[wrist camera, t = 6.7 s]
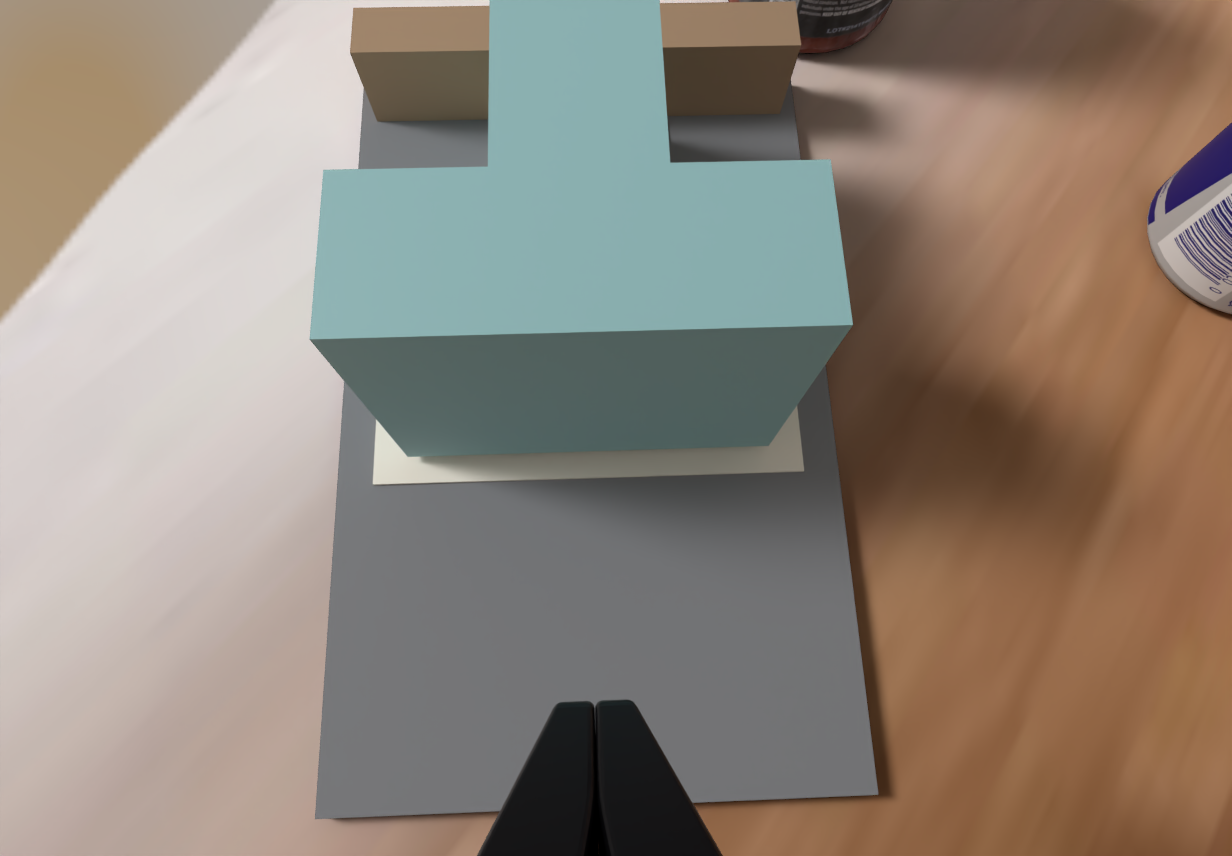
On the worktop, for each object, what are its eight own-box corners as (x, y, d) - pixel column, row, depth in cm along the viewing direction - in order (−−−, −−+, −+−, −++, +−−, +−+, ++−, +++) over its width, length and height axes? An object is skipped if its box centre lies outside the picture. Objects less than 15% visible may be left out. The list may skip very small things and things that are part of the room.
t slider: (768, 445, 23) (853, 324, 15) (407, 456, 23) (309, 339, 15) (737, 125, 26) (794, -107, 18) (421, 131, 26) (345, -102, 18)
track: (871, 792, 21) (923, 811, 18) (321, 816, 21) (267, 840, 17) (786, 83, 28) (812, 0, 24) (368, 91, 27) (336, 8, 24)
